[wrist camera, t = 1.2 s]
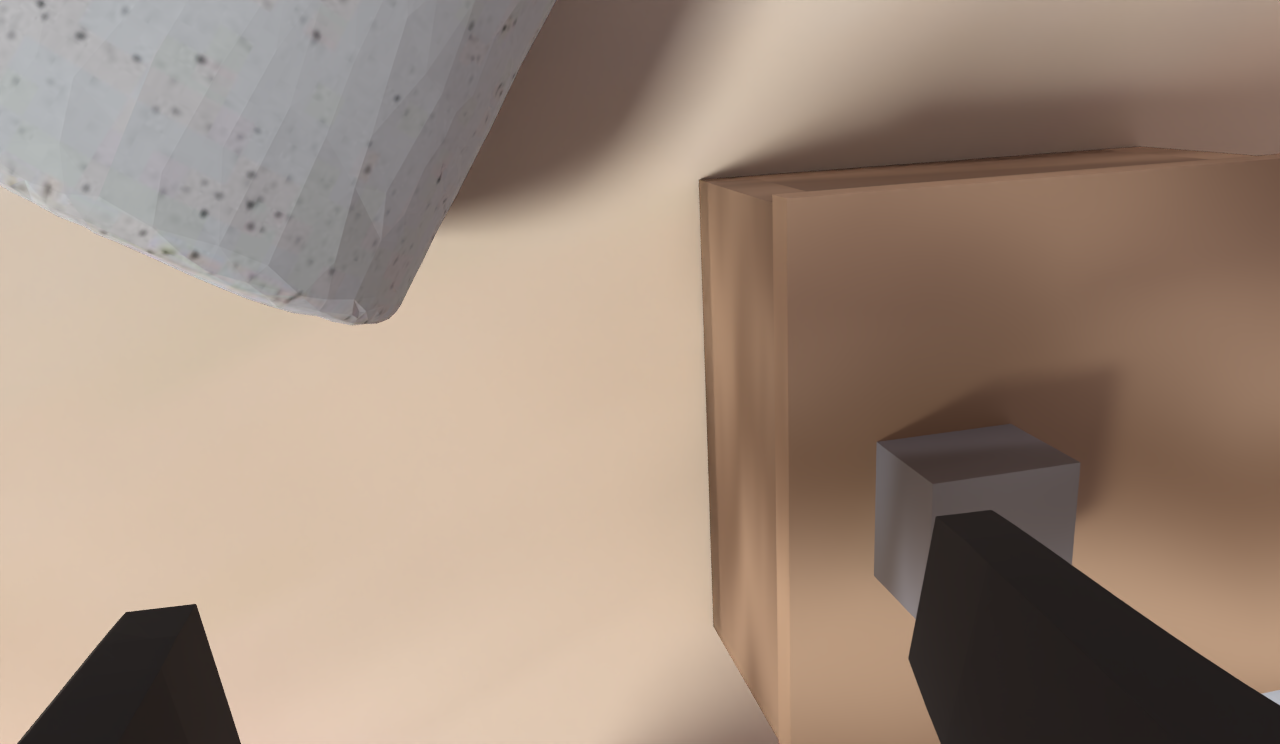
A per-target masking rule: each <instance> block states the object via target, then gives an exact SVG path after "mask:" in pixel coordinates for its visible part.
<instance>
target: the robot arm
mask: <svg viewBox="0 0 1280 744" xmlns="http://www.w3.org/2000/svg"><path fill="white" fill-rule="evenodd" d="M908 660H909V662H910V665H911V668H912V670H913V673H914V676H915V679H916V681H917V684H918V687H919V689H920V692H921V695H922V697H923V700H924V703H925V706H926V708H927V711H928V713H929V716H930V718H931V721H932V723H933V726H934V728H935V731H936V733H937V736H938V738H939V741H940V743H941V744H1280V705H1279V704H1277V703H1275V702H1274V701H1272V700H1271V699H1269V698H1267V697H1266V696H1264V695H1263V694H1261V693H1259V692H1258V691H1256V690H1255V689H1253V688H1251V687H1250V686H1248V685H1247V684H1245V683H1243V682H1242V681H1240V680H1239V679H1237V678H1236V677H1234V676H1233V675H1231V674H1230V673H1228V672H1227V671H1225V670H1224V669H1222V668H1220V667H1219V666H1217V665H1216V664H1214V663H1213V662H1211V661H1210V660H1208V659H1207V658H1205V657H1204V656H1202V655H1201V654H1199V653H1198V652H1196V651H1195V650H1193V649H1192V648H1190V647H1189V646H1187V645H1186V644H1184V643H1183V642H1181V641H1180V640H1178V639H1177V638H1175V637H1174V636H1173V635H1171V634H1170V633H1168V632H1167V631H1165V630H1164V629H1162V628H1161V627H1159V626H1158V625H1157V624H1155V623H1154V622H1152V621H1151V620H1149V619H1148V618H1146V617H1145V616H1143V615H1142V614H1141V613H1139V612H1138V611H1136V610H1135V609H1133V608H1132V607H1131V606H1129V605H1128V604H1126V603H1125V602H1123V601H1122V600H1121V599H1119V598H1118V597H1116V596H1115V595H1113V594H1112V593H1111V592H1109V591H1108V590H1106V589H1105V588H1104V587H1102V586H1101V585H1099V584H1098V583H1097V582H1095V581H1094V580H1092V579H1091V578H1089V577H1088V576H1087V575H1085V574H1084V573H1082V572H1081V571H1080V570H1078V569H1077V568H1075V567H1074V566H1073V565H1071V564H1070V563H1068V562H1067V561H1066V560H1064V559H1063V558H1061V557H1060V556H1059V555H1057V554H1056V553H1054V552H1053V551H1051V550H1050V549H1049V548H1047V547H1046V546H1044V545H1043V544H1042V543H1040V542H1039V541H1037V540H1036V539H1034V538H1033V537H1032V536H1030V535H1029V534H1027V533H1026V532H1024V531H1023V530H1021V529H1020V528H1019V527H1017V526H1016V525H1014V524H1013V523H1011V522H1010V521H1008V520H1007V519H1005V518H1004V517H1002V516H1001V515H999V514H997V513H996V512H994V511H993V510H985V511H977V512H968V513H960V514H951V515H943V516H936V518H935V523H934V528H933V533H932V538H931V543H930V549H929V554H928V559H927V564H926V569H925V574H924V579H923V585H922V590H921V595H920V600H919V605H918V610H917V615H916V620H915V626H914V631H913V636H912V641H911V646H910V651H909V656H908ZM17 744H241V743H240V739H239V736H238V733H237V730H236V727H235V724H234V721H233V718H232V714H231V711H230V708H229V705H228V702H227V699H226V696H225V693H224V690H223V686H222V683H221V680H220V677H219V674H218V671H217V668H216V665H215V661H214V658H213V655H212V652H211V649H210V646H209V643H208V640H207V637H206V633H205V630H204V627H203V624H202V621H201V618H200V615H199V612H198V608H197V605H196V604H192V605H183V606H175V607H166V608H158V609H150V610H141V611H133V612H126V613H125V614H124V615H123V616H122V617H121V618H120V619H119V621H118V622H117V623H116V624H115V625H114V626H113V628H112V629H111V630H110V631H109V632H108V633H107V635H106V636H105V637H104V638H103V639H102V641H101V642H100V643H99V644H98V645H97V647H96V648H95V649H94V650H93V652H92V653H91V654H90V655H89V656H88V658H87V659H86V660H85V661H84V663H83V664H82V665H81V666H80V668H79V669H78V670H77V671H76V672H75V674H74V675H73V676H72V677H71V679H70V680H69V681H68V682H67V684H66V685H65V686H64V687H63V688H62V690H61V691H60V692H59V693H58V695H57V696H56V697H55V698H54V700H53V701H52V702H51V703H50V704H49V706H48V707H47V708H46V709H45V711H44V712H43V713H42V714H41V715H40V717H39V718H38V719H37V720H36V721H35V723H34V724H33V725H32V726H31V728H30V729H29V730H28V731H27V732H26V734H25V735H24V736H23V737H22V738H21V740H20V741H19V742H18V743H17Z"/></svg>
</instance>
